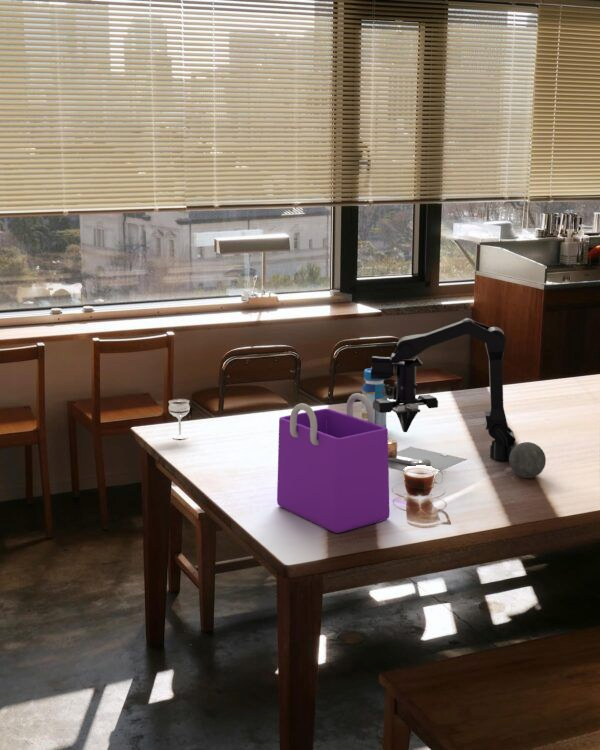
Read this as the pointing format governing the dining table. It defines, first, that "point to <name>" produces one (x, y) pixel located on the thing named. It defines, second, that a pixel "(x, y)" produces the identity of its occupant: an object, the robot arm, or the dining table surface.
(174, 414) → the wineglass
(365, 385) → the beverage bottle
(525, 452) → the decorative ball
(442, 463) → the mount plate
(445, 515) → the dining table surface
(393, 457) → the crank
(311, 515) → the shopping bag
